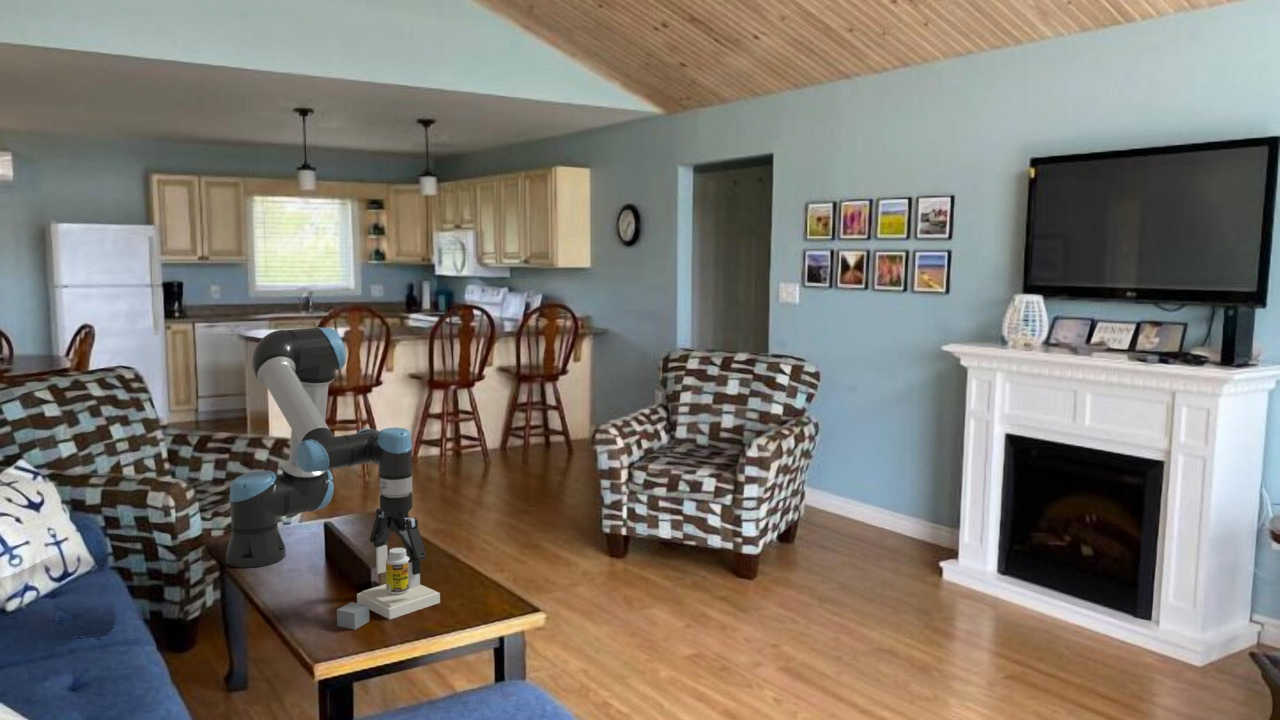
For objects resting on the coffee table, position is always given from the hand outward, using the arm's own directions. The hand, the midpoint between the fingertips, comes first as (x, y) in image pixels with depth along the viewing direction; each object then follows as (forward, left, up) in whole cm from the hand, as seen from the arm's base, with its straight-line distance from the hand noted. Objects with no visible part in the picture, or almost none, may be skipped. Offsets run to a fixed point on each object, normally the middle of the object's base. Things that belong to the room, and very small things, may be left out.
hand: (397, 579), depth 227 cm
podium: (0, 0, -6) cm, 6 cm away
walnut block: (-13, +5, -6) cm, 15 cm away
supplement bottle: (0, 0, -3) cm, 3 cm away
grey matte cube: (+3, -14, -6) cm, 16 cm away
